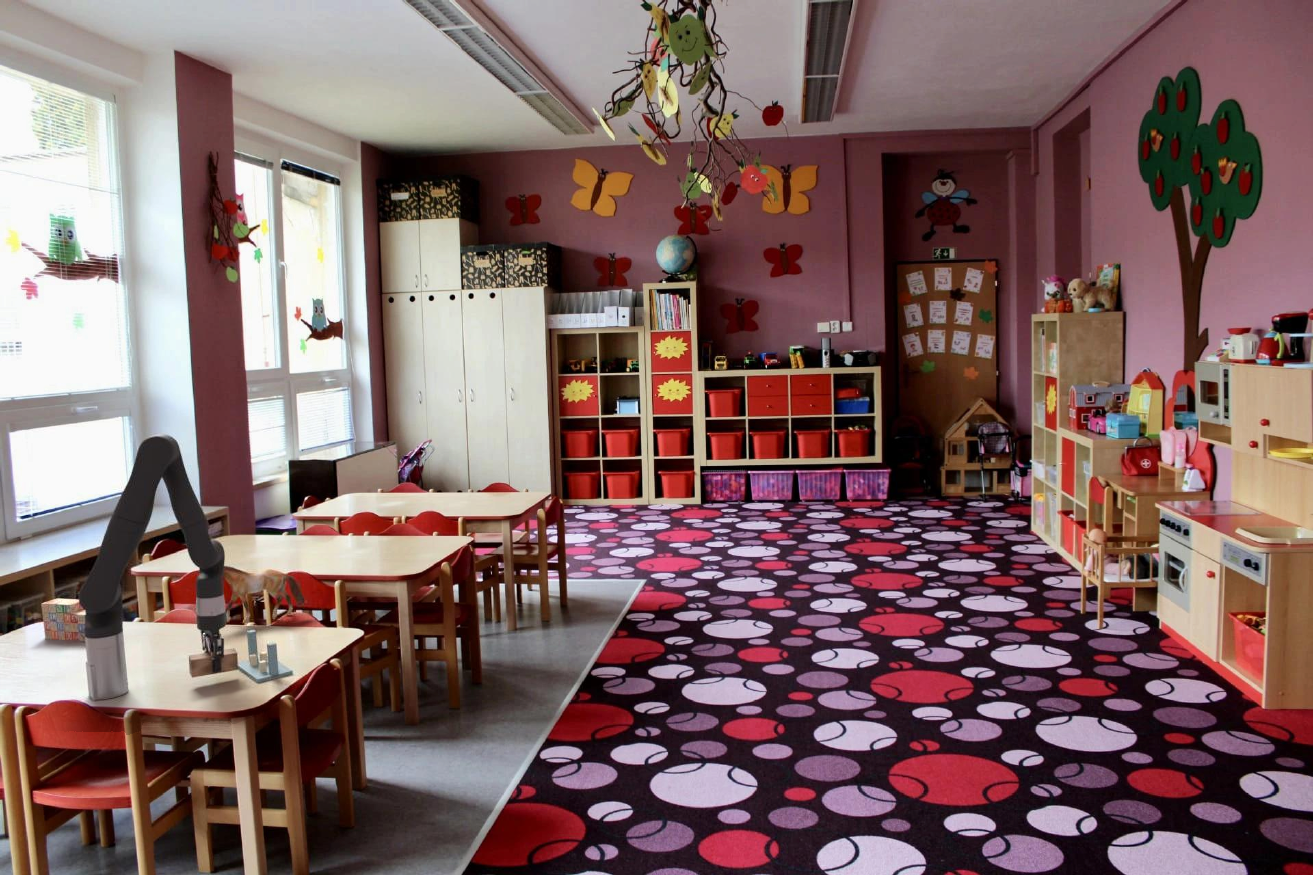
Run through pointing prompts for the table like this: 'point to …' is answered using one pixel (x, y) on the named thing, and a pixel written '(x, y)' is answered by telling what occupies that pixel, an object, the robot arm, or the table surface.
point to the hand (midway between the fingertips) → (213, 669)
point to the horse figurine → (261, 587)
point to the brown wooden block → (203, 663)
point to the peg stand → (262, 662)
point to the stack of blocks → (64, 619)
